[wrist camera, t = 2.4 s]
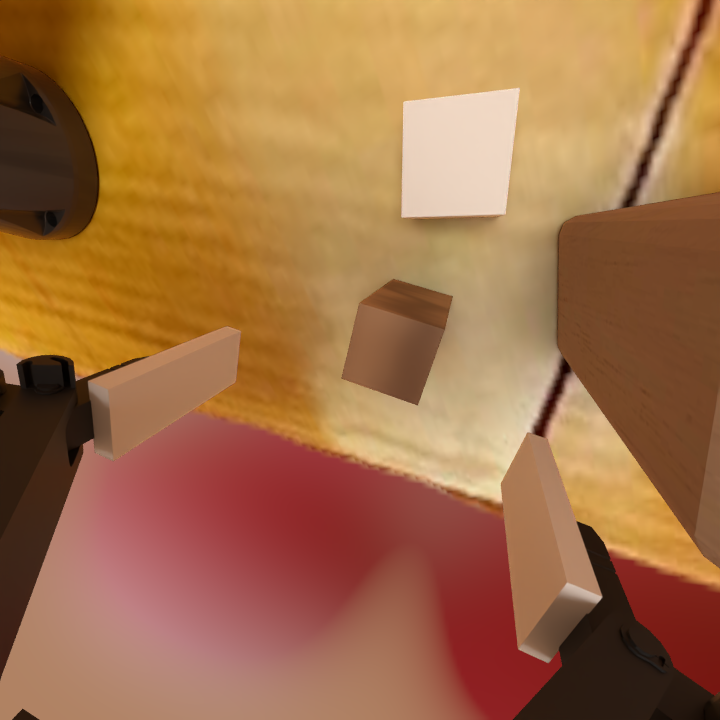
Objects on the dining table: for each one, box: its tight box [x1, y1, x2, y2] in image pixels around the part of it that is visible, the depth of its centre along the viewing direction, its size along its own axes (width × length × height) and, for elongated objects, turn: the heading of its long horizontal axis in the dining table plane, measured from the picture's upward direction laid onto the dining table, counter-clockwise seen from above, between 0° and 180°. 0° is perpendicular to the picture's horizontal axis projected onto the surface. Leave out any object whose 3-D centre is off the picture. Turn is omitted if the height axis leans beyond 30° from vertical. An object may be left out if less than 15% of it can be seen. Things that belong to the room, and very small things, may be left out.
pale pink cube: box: [401, 88, 520, 219], centre depth 23 cm, size 6×6×6 cm
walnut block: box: [342, 279, 453, 405], centre depth 25 cm, size 5×5×10 cm
